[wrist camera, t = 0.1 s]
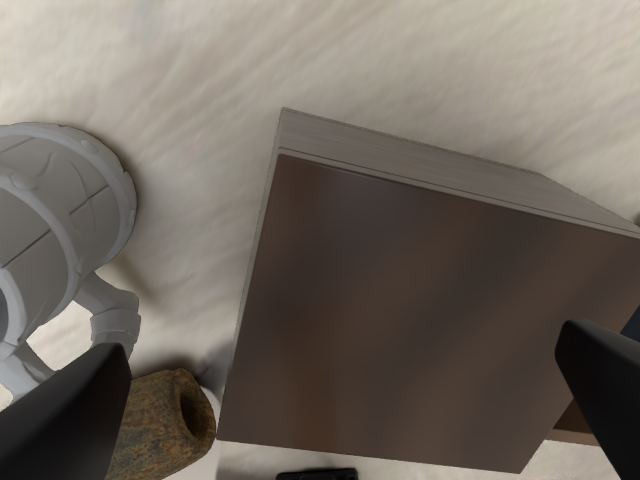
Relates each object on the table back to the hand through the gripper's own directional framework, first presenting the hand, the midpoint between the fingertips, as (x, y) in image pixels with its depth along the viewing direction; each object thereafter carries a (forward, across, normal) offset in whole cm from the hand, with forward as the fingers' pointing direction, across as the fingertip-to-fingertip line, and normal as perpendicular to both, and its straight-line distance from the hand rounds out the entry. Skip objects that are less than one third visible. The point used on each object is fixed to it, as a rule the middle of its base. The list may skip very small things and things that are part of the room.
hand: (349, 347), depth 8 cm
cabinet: (+15, -4, +5) cm, 16 cm away
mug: (+15, +12, +3) cm, 19 cm away
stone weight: (+15, +14, +17) cm, 27 cm away
